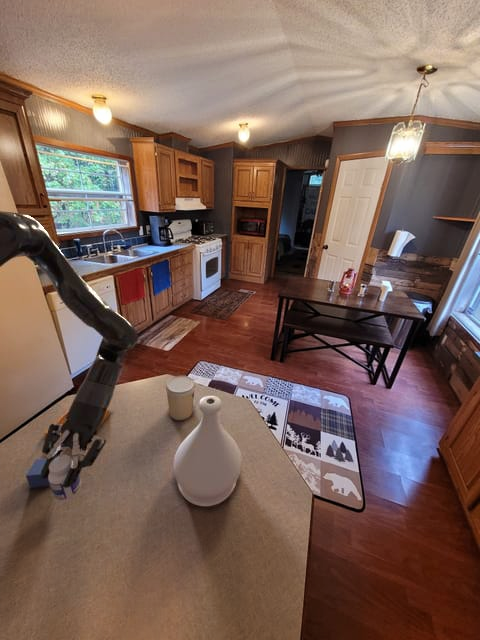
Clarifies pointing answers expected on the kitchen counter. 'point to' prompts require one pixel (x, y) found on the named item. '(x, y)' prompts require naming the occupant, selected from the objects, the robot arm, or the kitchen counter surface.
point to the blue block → (37, 474)
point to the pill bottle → (62, 478)
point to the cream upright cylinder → (180, 396)
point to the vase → (207, 459)
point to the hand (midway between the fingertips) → (56, 481)
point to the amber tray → (63, 419)
